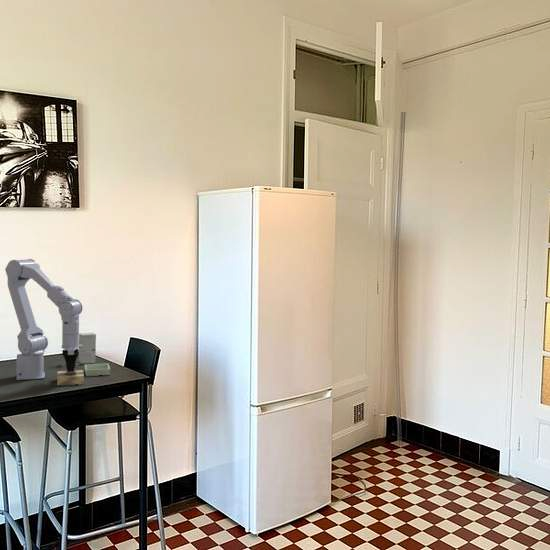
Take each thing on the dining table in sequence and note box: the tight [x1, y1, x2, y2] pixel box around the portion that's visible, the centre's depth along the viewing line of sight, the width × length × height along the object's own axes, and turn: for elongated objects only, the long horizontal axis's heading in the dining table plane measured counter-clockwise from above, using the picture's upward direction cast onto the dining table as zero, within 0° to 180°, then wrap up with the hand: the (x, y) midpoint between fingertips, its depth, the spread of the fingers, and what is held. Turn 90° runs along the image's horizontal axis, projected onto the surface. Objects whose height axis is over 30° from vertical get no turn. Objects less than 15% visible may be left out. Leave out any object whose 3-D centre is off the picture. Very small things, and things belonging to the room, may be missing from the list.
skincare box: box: [78, 332, 97, 365], centre depth 244 cm, size 6×4×12 cm
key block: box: [56, 369, 85, 387], centre depth 214 cm, size 9×9×3 cm
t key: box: [61, 362, 80, 375], centre depth 214 cm, size 6×3×6 cm, turn 110°
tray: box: [84, 363, 111, 377], centre depth 228 cm, size 9×9×2 cm
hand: (70, 370), depth 214 cm, fingers closed on t key, 3 cm apart
